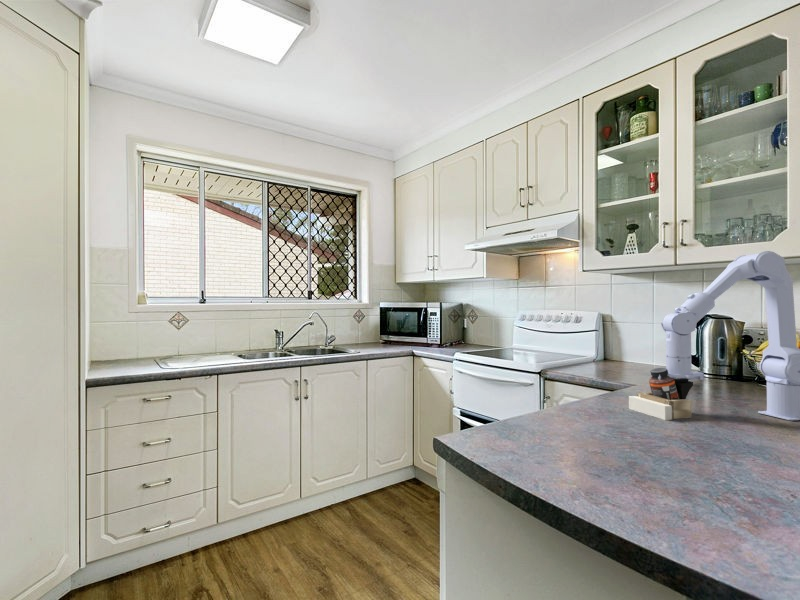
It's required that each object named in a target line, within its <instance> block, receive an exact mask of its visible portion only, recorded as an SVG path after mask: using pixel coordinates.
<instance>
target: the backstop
mask: <svg viewBox="0 0 800 600" xmlns="http://www.w3.org/2000/svg"><path fill="white" fill-rule="evenodd" d="M628 409H629V410H632V411H635V412H639V413H641V414H644V415H647V416H651V417H654V418H658V419H660V420H663V421H672V420H673V419H672V406H670V405H667V404H663V403H659V402H655V401H652V400H648V399H644V398H641V397H637V395H629V396H628Z"/></svg>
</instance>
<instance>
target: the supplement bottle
mask: <svg viewBox="0 0 800 600" xmlns="http://www.w3.org/2000/svg"><path fill="white" fill-rule="evenodd" d="M650 375H651V377H650V378H649V380H648V383H649V387H650V391H651V392H652V396H656V397H660V398H664V399H668V400H679V396H678V393H677V388H676V385H675V381H674V378H672V377H669V376H668V370H667V369H666V367H655V368H653V369H651V370H650ZM659 375H660V376H661V379H660V380H659V379H658V377H659Z"/></svg>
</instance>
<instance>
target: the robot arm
mask: <svg viewBox="0 0 800 600" xmlns="http://www.w3.org/2000/svg"><path fill="white" fill-rule="evenodd" d="M742 280H749V281H753V282H755V284H758V285H760V286H761V287H762V288H763V289H764V293H765V307H766V308H765V310H766V311H765V312H766V324H767V325H766V326H767V339H768V340H767V341H768V343H767V344H768V346H767V347H766V348H765V349H764V350H763V351H762V358H761V360H760V362H759V370H760V372H761V374H762V375H763V376H764V379H765V380H766V410H758V412H757V413H758V414H762V415H766V416H769V417H775V418H779V419H783V420H787V421H793V422H794V421H800V348H799V347H798V346H797V344H798V342H797V329H796V327H797V326H796V314H795V313H796V311H795V301H794V300H795V299H794V287H793V286H794V284H793V283H794V282H793V278H792V276H791V274H790V272H789V271H788V269H787V267H786V259H785V257H783V256H781V255H780V254H778V253H777V252H774V251H770V250H765V251H761V252H758V253H757V252H756V253H752V254H743V255H739V256H738V257H736V258H735V259H734V260H733V261H731V262H730V263H728V264H727V266H726V268H725V269H724V270H723V271H722V272H721V273H720V274H719V275H718V276H717V277H716V278H715V279H714V280H713V281H712V282H711V284H709V285H708V286H707V287H706V288H705V289H704V291H702V292H701V291H700V292H699V291H698V292H695V293H690V294H689V295H687V297H686V298H687V299H686V301H684V302H683V303H682V304H681V305H680V306H679V307H675V308H674V312H672V313H668V314H666V315H665V316H664V318H663V321H662V322H661V323H660V326H661V329H662V330H663V331H664V332H665V358H666V359H665V368H666V369H667V370H668V376H669V377H672V378H674V381H675V385H676V388H677V393H678V396H679V400H680V399H687V396H688V394H689V392H690V390H691V389H692V387H693V386H694V381H693V380H696V381H697V380H700V381H704V380H705V379H704V376H705V375H704V372H701V371H692V332H694V331H695V330H696V328H697V323H698V322H700V320H701V319H703V318H704V317H705V316H706V315H707V314H708V313H709V312H710V311H712V310H713V309H714V308H715V306H716V305H715V303H716V302H715V300H717V299H718V298H719V297H720V296H722V295H723V294H724V293H725V292H726V291H728V290H729V289H730V288H731V287H733V286H734V285H735V284H736V283H738V282H739V281H742ZM658 379H659V380H660V379H661V376H660V375H659V377H658ZM690 380H691V381H690Z"/></svg>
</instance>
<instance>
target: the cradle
mask: <svg viewBox="0 0 800 600" xmlns="http://www.w3.org/2000/svg"><path fill="white" fill-rule="evenodd" d="M636 396H637V397H641V398H644V399H648V400H652V401H655V402H659V403H663V404H667V405H670V406H672V420H673V419H689V418H690V419H692V399H689V398H686V399H680V400H668V399H664V398H660V397H656V396H652V392H636Z"/></svg>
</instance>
